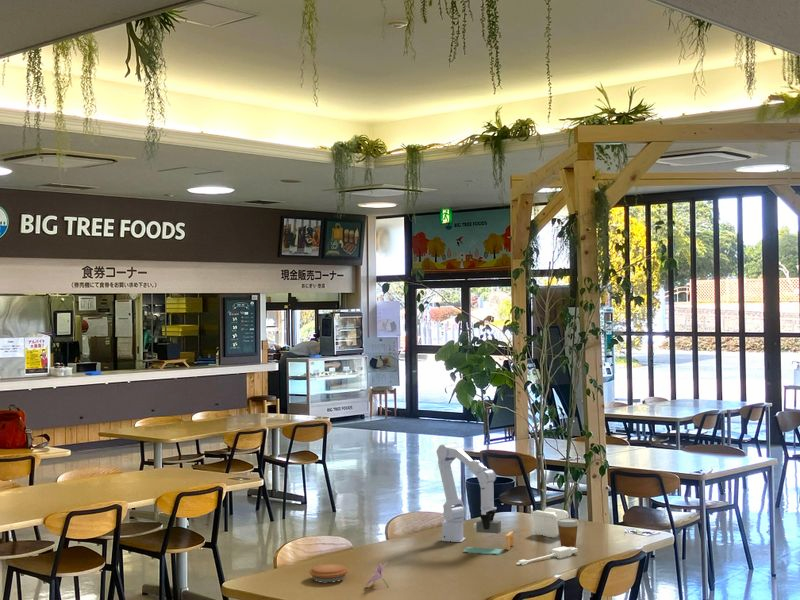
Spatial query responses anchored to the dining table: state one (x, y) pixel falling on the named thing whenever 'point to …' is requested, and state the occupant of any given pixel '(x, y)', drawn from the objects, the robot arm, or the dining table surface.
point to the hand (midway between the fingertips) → (487, 528)
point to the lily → (377, 574)
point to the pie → (328, 572)
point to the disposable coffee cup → (568, 531)
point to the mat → (483, 550)
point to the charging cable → (554, 554)
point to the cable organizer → (547, 521)
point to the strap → (509, 540)
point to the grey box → (493, 528)
